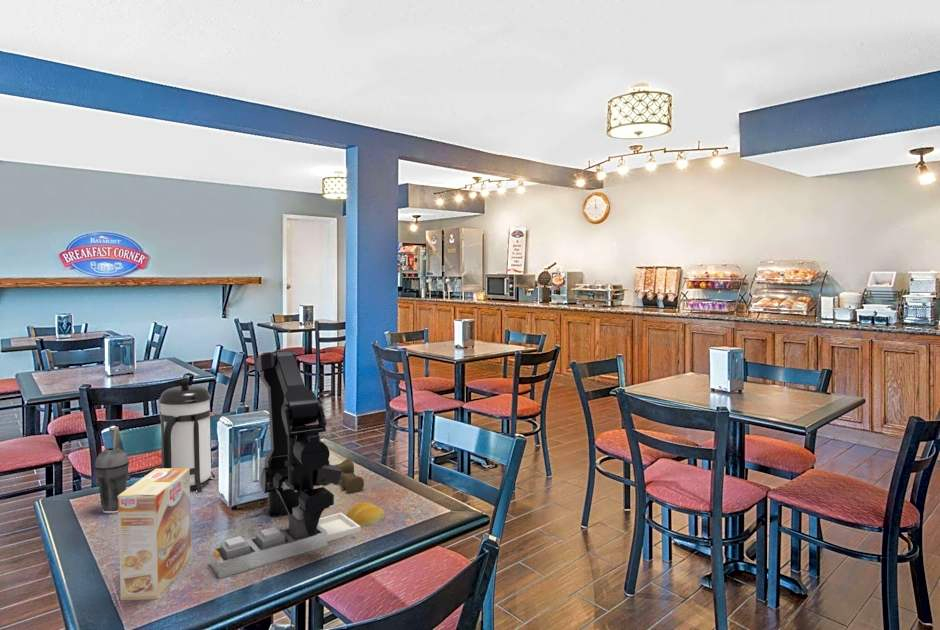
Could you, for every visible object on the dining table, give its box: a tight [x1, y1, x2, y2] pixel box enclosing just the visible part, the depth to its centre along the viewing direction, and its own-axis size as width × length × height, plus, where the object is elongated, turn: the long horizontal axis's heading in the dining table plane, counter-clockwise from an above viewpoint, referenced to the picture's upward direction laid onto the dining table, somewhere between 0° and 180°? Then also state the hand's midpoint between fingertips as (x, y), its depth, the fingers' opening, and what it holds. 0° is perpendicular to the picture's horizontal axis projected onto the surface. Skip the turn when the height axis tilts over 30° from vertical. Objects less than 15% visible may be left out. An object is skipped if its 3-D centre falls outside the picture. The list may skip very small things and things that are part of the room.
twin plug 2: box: [255, 526, 285, 550], centre depth 119 cm, size 4×4×5 cm
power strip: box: [208, 525, 329, 579], centre depth 119 cm, size 7×22×4 cm, turn 129°
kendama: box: [322, 458, 365, 494], centre depth 162 cm, size 6×10×20 cm
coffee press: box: [158, 377, 216, 492], centre depth 157 cm, size 17×16×30 cm
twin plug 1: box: [219, 535, 250, 561], centre depth 115 cm, size 4×4×5 cm
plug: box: [288, 505, 317, 540], centre depth 123 cm, size 4×4×8 cm
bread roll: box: [346, 501, 385, 527], centre depth 138 cm, size 8×9×4 cm
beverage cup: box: [93, 428, 130, 511], centre depth 141 cm, size 7×7×20 cm
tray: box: [318, 512, 362, 542], centre depth 131 cm, size 10×10×2 cm
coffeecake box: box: [117, 467, 192, 601], centre depth 109 cm, size 15×7×20 cm, turn 5°
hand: (302, 527), depth 123 cm, fingers open, 9 cm apart
